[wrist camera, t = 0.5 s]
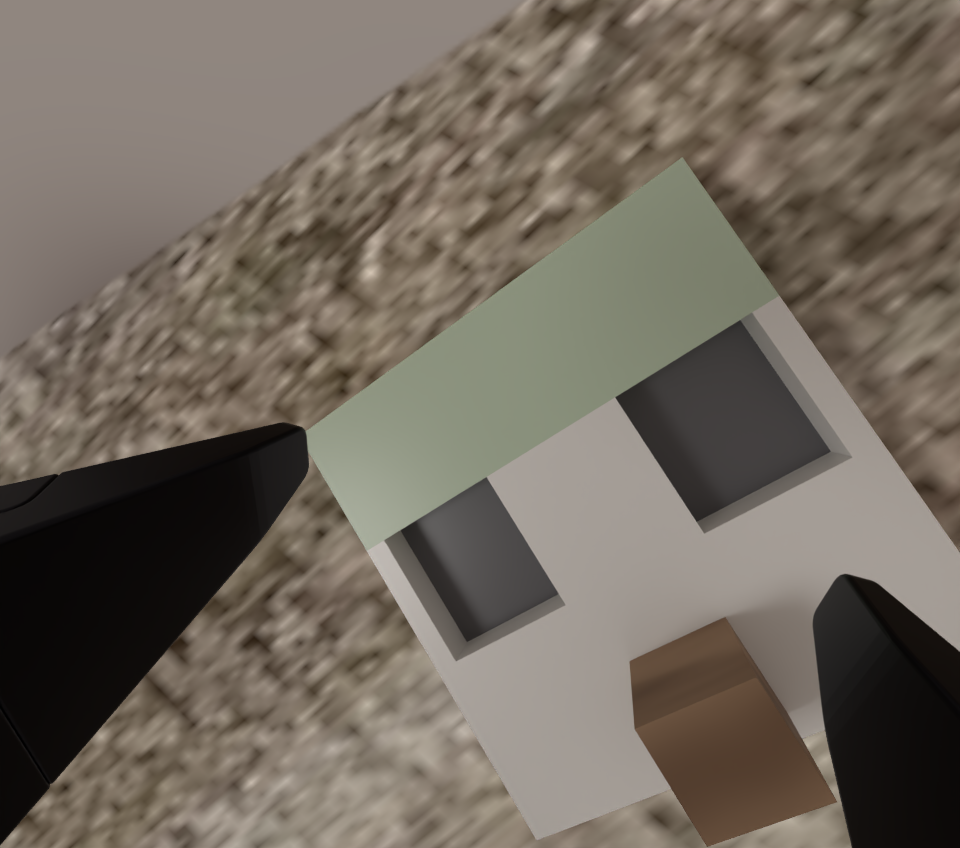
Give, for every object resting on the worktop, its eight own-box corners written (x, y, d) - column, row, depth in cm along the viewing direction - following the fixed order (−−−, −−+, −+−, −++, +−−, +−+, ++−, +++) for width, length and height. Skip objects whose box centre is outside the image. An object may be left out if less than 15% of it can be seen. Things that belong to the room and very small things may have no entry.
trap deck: (984, 623, 18) (1029, 651, 16) (543, 801, 23) (536, 840, 21) (675, 180, 20) (682, 157, 18) (324, 432, 24) (299, 436, 22)
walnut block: (787, 713, 18) (836, 801, 14) (687, 753, 19) (707, 846, 15) (725, 616, 18) (756, 676, 14) (629, 661, 19) (634, 728, 15)
